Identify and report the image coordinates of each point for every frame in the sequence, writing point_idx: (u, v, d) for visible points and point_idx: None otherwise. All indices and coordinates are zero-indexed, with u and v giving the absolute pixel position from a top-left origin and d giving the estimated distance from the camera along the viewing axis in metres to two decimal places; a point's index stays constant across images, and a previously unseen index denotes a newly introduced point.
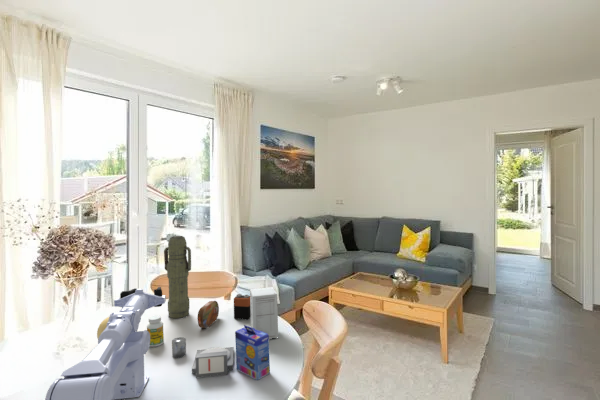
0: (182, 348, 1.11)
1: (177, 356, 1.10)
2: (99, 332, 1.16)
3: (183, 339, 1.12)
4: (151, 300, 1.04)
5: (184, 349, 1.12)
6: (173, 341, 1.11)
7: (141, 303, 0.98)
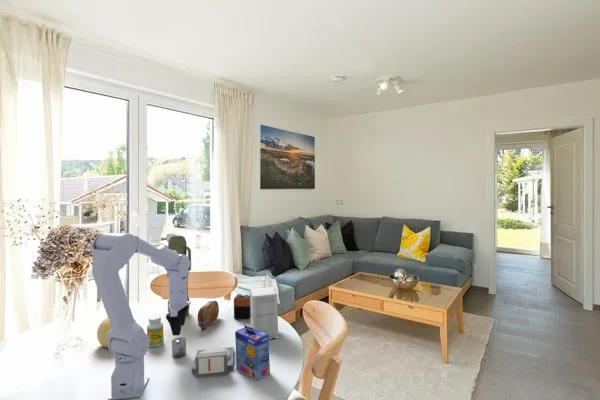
0: (182, 348, 1.11)
1: (177, 356, 1.10)
2: (99, 332, 1.16)
3: (183, 339, 1.12)
4: (176, 307, 1.08)
5: (184, 349, 1.12)
6: (173, 341, 1.11)
7: (186, 285, 1.12)
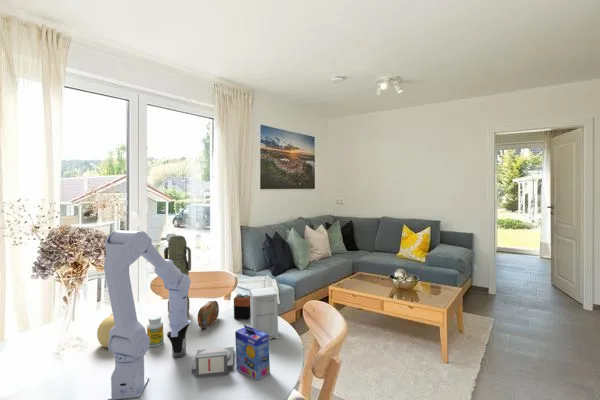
0: (182, 348, 1.11)
1: (177, 356, 1.10)
2: (99, 332, 1.16)
3: (183, 339, 1.12)
4: (177, 326, 1.09)
5: (184, 349, 1.12)
6: None
7: None
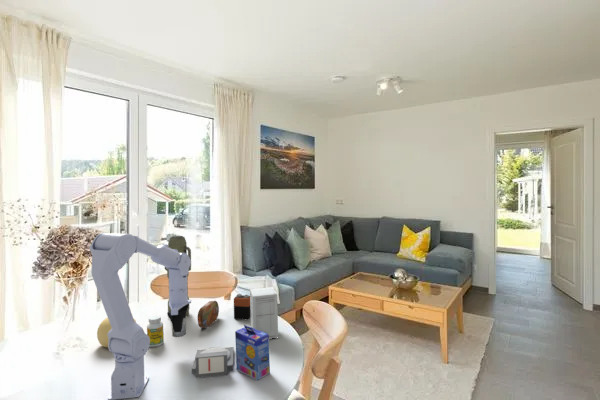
0: (183, 327, 1.11)
1: (177, 335, 1.10)
2: (99, 332, 1.16)
3: (183, 319, 1.12)
4: (177, 305, 1.08)
5: (184, 328, 1.11)
6: None
7: None
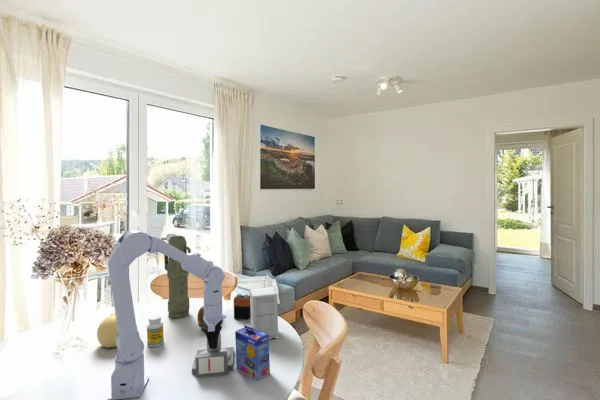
0: (218, 343, 1.06)
1: None
2: (99, 332, 1.16)
3: None
4: (212, 321, 1.04)
5: (219, 344, 1.07)
6: None
7: (220, 300, 1.06)
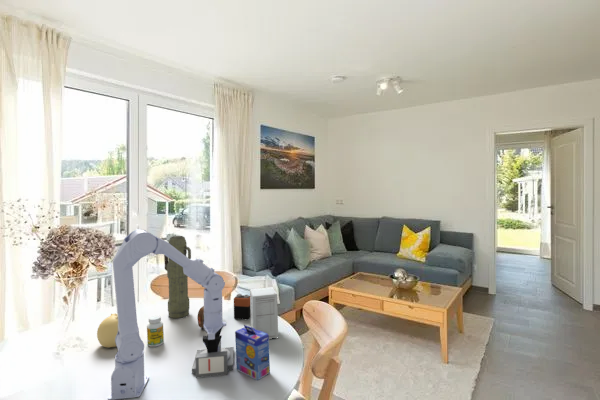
0: (218, 348, 1.06)
1: None
2: (99, 332, 1.16)
3: None
4: (213, 328, 1.04)
5: (219, 349, 1.07)
6: None
7: (220, 307, 1.06)
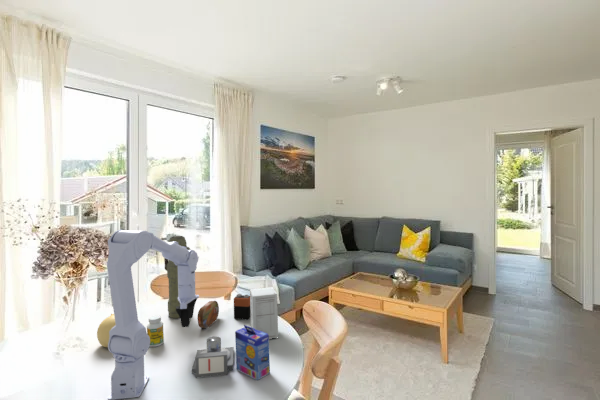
0: (218, 348, 1.06)
1: None
2: (99, 332, 1.16)
3: (218, 339, 1.07)
4: (185, 300, 1.14)
5: (219, 349, 1.07)
6: (208, 340, 1.06)
7: None
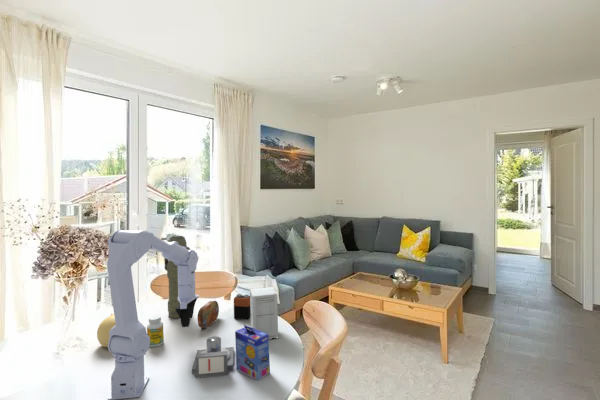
0: (218, 348, 1.06)
1: None
2: (99, 332, 1.16)
3: (218, 339, 1.07)
4: (185, 300, 1.14)
5: (219, 349, 1.07)
6: (208, 340, 1.06)
7: None
